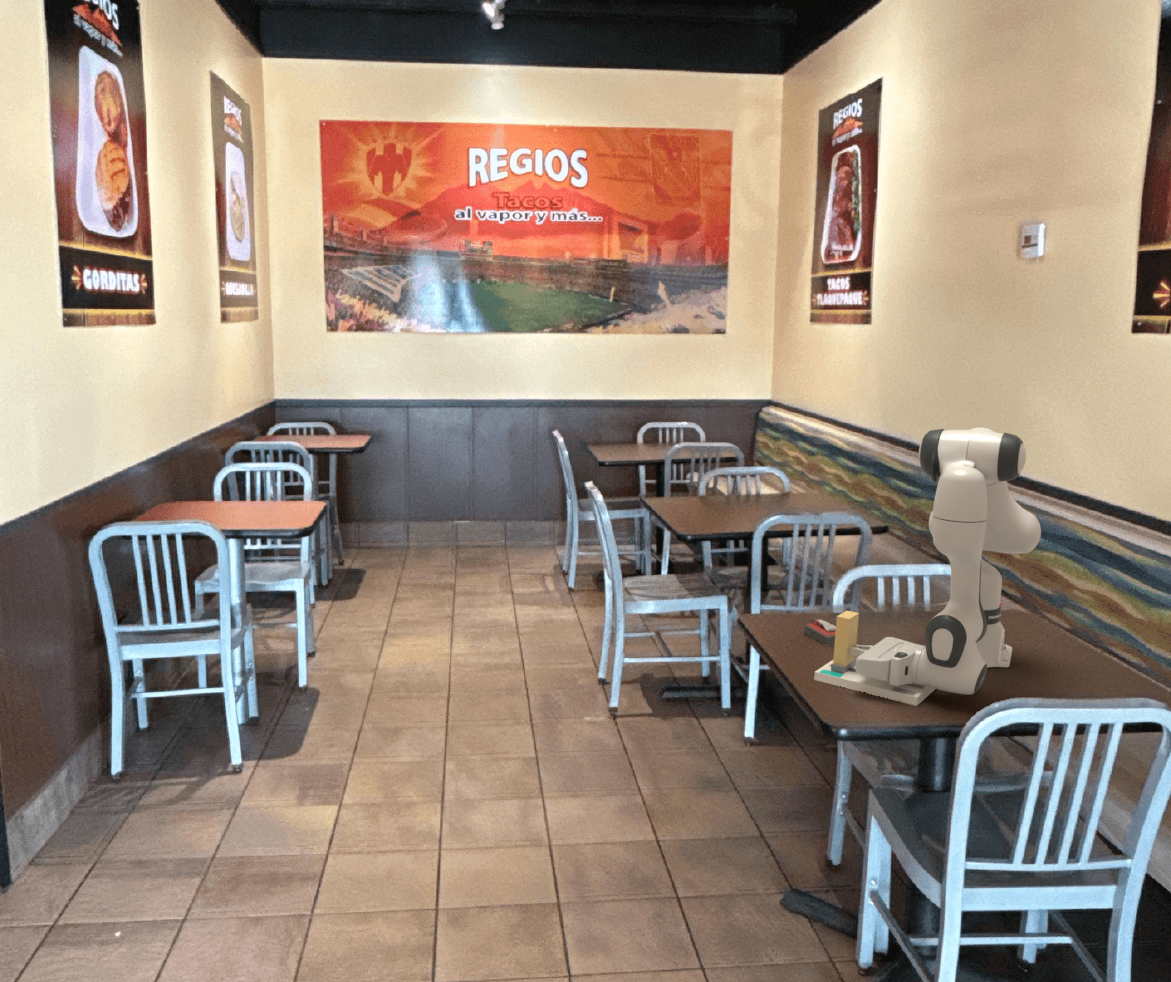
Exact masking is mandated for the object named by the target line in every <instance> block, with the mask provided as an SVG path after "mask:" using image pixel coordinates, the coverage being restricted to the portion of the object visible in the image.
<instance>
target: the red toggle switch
mask: <svg viewBox="0 0 1171 982" xmlns="http://www.w3.org/2000/svg"><path fill="white" fill-rule="evenodd" d="M811 621H812V623H806V624H805V625H804V633H803V634H804V635H806V636H808V637H809V638H811V639H813V640H814V639H815V640H814V641H816V640H817V641H816V642H818V641H819V642H818V643H820V642H822V643H824V644H826V645H828V646H831V645H835V633H836V625H834V624H831V623H830V622H828V621H825V620H824V619H818V618H815V617H812V618H811ZM828 646H827V647H828Z"/></svg>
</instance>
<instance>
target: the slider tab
mask: <svg viewBox="0 0 1171 982" xmlns="http://www.w3.org/2000/svg"><path fill="white" fill-rule="evenodd" d="M859 618H860V612H855V611H851V610H845V611H843V612H842V613H840V614H838V615H837V616H836V621H835V622H836V624H835V626H836V633H835V645H834V646H833V659H832V660H833V664H831V670H832V671H836V672H840V673H844V672H846V671H847V670H848V669H850V668H851V667H853V666H854V665H856V658H857V657H856V656H854V655H850V654H849V649H850V647H852V646H854V645H855V644H858V642H857V641H858V630H859Z"/></svg>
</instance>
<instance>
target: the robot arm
mask: <svg viewBox="0 0 1171 982" xmlns="http://www.w3.org/2000/svg"><path fill="white" fill-rule="evenodd" d="M1026 454H1027V453H1026V448H1025V445H1024V441H1023V440H1022V439H1021V438H1020V437H1019V436H1018V435H1017V434H1013V433H1008V432H1004V433H1002V432H1001V433H1000V432H997V431H996V432H995V431H994V430H992V429H990V428H987V427H982V426H981V427H974V428H970V429H948V430H947V429H944V428H938V429H933V430H929V431H928V432H927V433H925V434H924V436H923V438H922V440H921V443H920V445H919V448H918V459H919V464H920V468H921V469H922V470H923V472H924V473H925V474H926V475H927V476H929V477H930V478H931V481H932V482H933V483H935V484H937V487H936V490H935V496H934V500H933V506H932V507H933V508H932V511H931V512H930V515H929V518H928V529H929V532H930V534H931V536H932V541H933V542H932V543H933V545H934V546H935V548H936V549H937V550H938V551H939V552H940V553H941V554H943V555H944V556H946V557H947V559H948V561H949V564H950V592H949V593H950V594H949V595H950V596H949V601H948V602H947V604H946V606H945V607H944V608H943V610H942V611H940V612H938V613H937V614H936V615H934V616H933V617H932V618H931V619H930V620H929V621H928V623H927V624H926V626H925V630H924V641H925V642H924V645H922V644H918V643H914V642H911V641H908V640H904V639H900V638H896V637H893V636H885V637H884V638H882V640H880V641H879V642H877V643H876V644H874V645H868V644H867V645H866V644H865V645H860V644H858V643H856V644H855V645H854V646H852V647H850V649H849V654H850V655H854V656H855V658H856V667H855V670H856V672H858V673H859V674H861V675H864V676H867V677H870V678H874V679H877V680H882V681H889V684H890V685H894V686H900V685H903V684H917V685H928V686H932V687H935V688H936V689H935V690H938V691H943V692H946V693H951V694H952V693H953V694H956V695H957V694H958V695H969V696H970V695H973V694H975V693H977V692H978V691H979V690H980V689H981V687H983V684H984V682H985V679H986V677H987V673H988V668H1009V667H1010V665H1011V659H1012V656H1013V655H1012V654H1013V647H1012V646H1010V645H1008V644H1007V643H1004V642H1005V632H1006V630H1005V627H1004V626H1003V624H1002V622H1001V620H1002V605H1003V603H1002V602H1001V596H1002V595H1001V594H1002V587H1003V578H1002V575H1001V573H1000V572H999V571H998V569H997V568H996V567H994V566H993V565H991V564H990V563H988V562H987V561H985V560H984V559H983V557H982V555H983V551H987V552H988V551H989V552H995V553H999V554H1008V555H1010V554H1013V555H1014V554H1015V555H1016V554H1029V553H1030V552H1032V551H1033V550H1034V549H1036V547H1037V546H1038V544H1039V542H1040V540H1041V535H1042V529H1041V524H1040V521H1039V520H1038V518H1037V516H1035V514H1033V513H1032V512H1030V511H1028V510H1026V509H1025V508H1023V507H1022V506H1021V505H1020V504H1019V503H1018V502H1017V501H1016V500H1015V499H1014V498H1013V496H1012V494H1011V493H1010V491H1009V487H1008V482H1009V481H1013V480H1015V479H1018V477H1019V476H1020V474H1021V472H1022V470H1023V469H1024V467H1025V464H1026V459H1027V455H1026ZM937 482H938V483H937Z"/></svg>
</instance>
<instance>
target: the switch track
mask: <svg viewBox="0 0 1171 982" xmlns="http://www.w3.org/2000/svg"><path fill="white" fill-rule="evenodd" d="M831 664H833V659H832V660H830V661H829V662H827V663H826V664H824V665H822V667H820V668H818V669H817V670H815V671H814V678H813V681H816V682H820V683H823V684H829V685H832V686H837V687H840V686H841V687H840V688H844V687H845V689H848V690H851V691H856V692H859V691H861V692H860V693H863V692H866V693H865V694H867V693H868V695H871V694H872V695H873V696H876V697H879V696H880V698H883V697H884V698H883V699H887V698H888V699H887V700H890V701H891V700H892V701H895V702H899V701H900V702H899V703H903V704H907V705H910V706H915V707H917V706H919V705H920V704H921V703H922V702H923V701H924V700H925V699H926V698H927V697H928V696H930V695H931V694H932V693H933V692H934V691H935V690H937V689H936V688H935V687H932V686H928V685H917V684H903V685H900V686H894V685H890V684H889V681H882V680H877V679H874V678H870V677H867V676H864V675H861V674H859V673H858V672H856V670H855V667H856V665H854V666H853V667H851V668H850V669H848V670H847V671H846V672H844V673H840V672H836V671H832V670H831Z"/></svg>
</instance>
